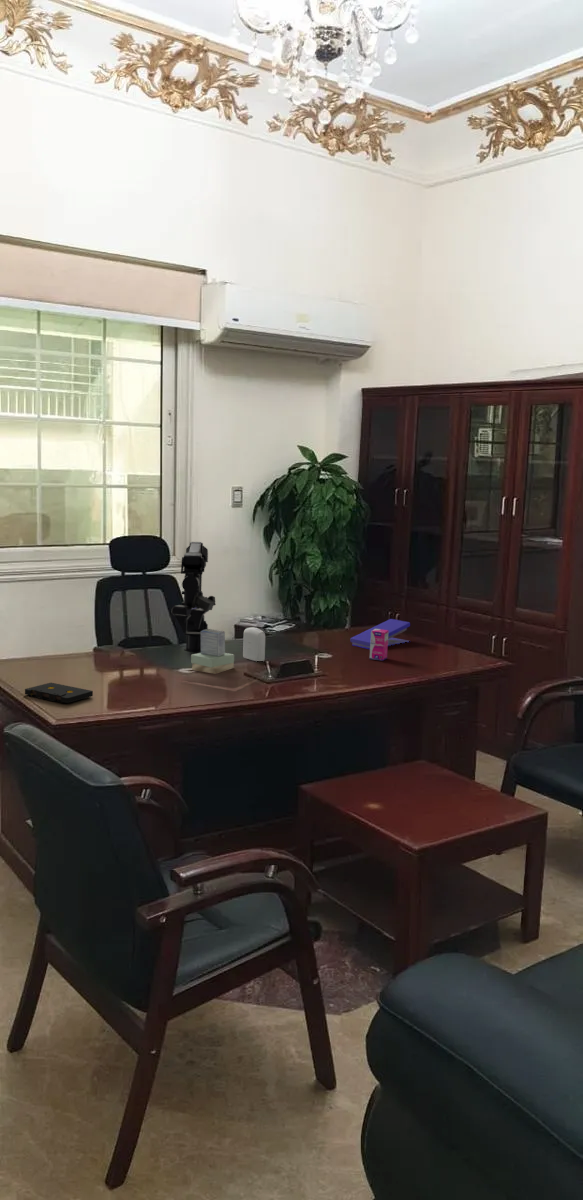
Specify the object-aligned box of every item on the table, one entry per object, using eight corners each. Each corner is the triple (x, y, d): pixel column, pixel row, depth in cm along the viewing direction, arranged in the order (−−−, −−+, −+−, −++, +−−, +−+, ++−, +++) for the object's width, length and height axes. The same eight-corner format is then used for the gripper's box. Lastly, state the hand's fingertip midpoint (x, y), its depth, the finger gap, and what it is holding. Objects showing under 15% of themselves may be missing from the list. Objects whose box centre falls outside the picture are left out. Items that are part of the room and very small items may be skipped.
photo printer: (241, 657, 353) (242, 626, 352) (250, 656, 356) (251, 625, 354) (257, 662, 346) (258, 630, 344) (266, 661, 348) (267, 629, 346)
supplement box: (369, 659, 360) (370, 630, 358) (373, 656, 365) (374, 628, 364) (383, 661, 358) (384, 632, 356) (387, 658, 363) (389, 629, 362)
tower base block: (192, 671, 329) (192, 663, 329) (210, 666, 340) (210, 658, 339) (215, 675, 325) (215, 667, 324) (233, 669, 335) (233, 661, 335)
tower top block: (191, 662, 330) (191, 654, 330) (213, 658, 339) (214, 650, 339) (211, 667, 324) (211, 659, 324) (234, 662, 333) (234, 654, 333)
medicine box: (225, 654, 331) (225, 631, 330) (218, 657, 328) (218, 633, 326) (207, 651, 335) (207, 628, 334) (200, 654, 331) (200, 630, 330)
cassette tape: (24, 694, 287) (24, 688, 287) (50, 688, 297) (50, 681, 297) (67, 704, 279) (67, 697, 278) (93, 696, 289) (93, 690, 288)
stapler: (411, 644, 397) (412, 621, 396) (370, 651, 377) (371, 628, 376) (390, 640, 405) (391, 618, 404) (349, 647, 385) (350, 624, 384)
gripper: (198, 593, 320) (197, 637, 322) (223, 587, 337) (222, 629, 339) (171, 590, 325) (170, 633, 327) (197, 585, 342) (196, 626, 344)
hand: (191, 630), depth 334 cm, fingers open, 9 cm apart
